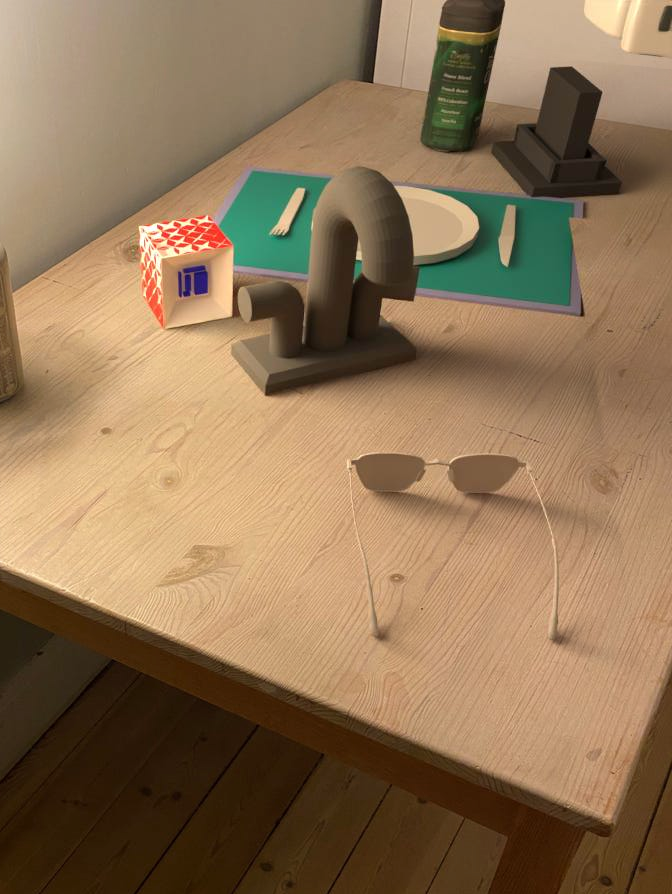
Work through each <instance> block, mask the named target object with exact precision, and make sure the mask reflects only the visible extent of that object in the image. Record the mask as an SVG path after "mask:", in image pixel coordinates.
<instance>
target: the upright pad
mask: <svg viewBox="0 0 672 894" xmlns="http://www.w3.org/2000/svg"><path fill="white" fill-rule="evenodd" d="M543 92H544V93H543V96H542V101H541V105H540V108H539V113H538V118H537V122H536V123H537V126H536V130H535V134H534V135H535V136H536V137H537V138H538V139H539V140H540V141H541V142H542V143H543V144H544V145H545V146H546V147H547V148H548V149H549V150H550V151H551V152H552V153H553V154H554V155H555V156H556V158H557V159H558V160H570V159H584V157H585V154H586V150H587V146H588V143H589V144H590V139H591V136H592V131H593V128H594V125H595V121H596V119H597V114H598V110H599V107H600V103H601V100H602V97H603V96H602V95H603V93H604V92H603V90H601V89H600V88H599V87H598V86H596V85H595V83H593V82H592V81H590V80H589V79H588V78H587V77H586V76H584V75H583V74H582V73H581V72H579V71H578V70H577V69H576V68H574V67H573V66H551V67H549V71H548V75H547V80H546V85H545V88H544V91H543Z"/></svg>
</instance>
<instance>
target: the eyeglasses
mask: <svg viewBox="0 0 672 894" xmlns="http://www.w3.org/2000/svg"><path fill="white" fill-rule="evenodd" d="M433 465H434V466H435V465H439V466H447V477H448V480H449V482H450V483H451V484H452V485H453V487H454V488H455V490H456V491H459V492H461V493H466V494H489V493H495V492H497V491H500V490H501V489H502V488H503V487H504V486H506V485H507V484H508V483H509V482H510V481H511V480H512V478H513V477H514V476H516V473H518V471H519V468H525V471H526V474H527V476H530V478H531V482H532V483H533V486H534V488H535V490H536V493H537V495H538V498H539V501H540V504H541V506H542V509H543V513H544V515H545V519H546V522H547V524H548V528H549V531H550V535H551V542H552V549H553V557H554V558H553V559H554V561H553V562H554V586H553V597H552V610H551V612H550V613H551V614H550V618H549V621H548V624H547V638H548V640H550V641H554V640H556V639H557V635H558V625H559V614H558V609H559V588H560V586H559V583H560V581H559V580H560V573H559V558H558V557H559V556H558V548H557V543H556V538H555V537H554V533H553V529H552V526H551V522H550V520H549V516H548V514H547V510H546V508H545V505H544V502H543V498H542V496H541V494H540V492H539V489H538V486H537V484H536V482H535V480H534V477H533V475H532V473H533V467H532V465H531V463H530V460H519V458H517V457H516V456H514V455H511V454H505V453H490V452H487V453H486V452H484V453H483V452H481V453H469V454H462V455H458V456H456V457H454V458H452V459H451V460H450V462H448V461H446V460H442V459H440V458H435V459H432V460H429V461H425V460H424V458H423V457H422V456H419V455H417V454H413V453H406V452H399V451H397V452H396V451H376V452H368V453H364V454H361V455H359V456H358V457H356V458H355V457H353V458H352V457H349V458H346V466H347V473H348V474H349V485H350V498H351V507H352V515H353V521H354V528H355V532H356V540H357V543H358V544H357V545H358V547H359V550H360V554H361V557H362V563H363V568H364V575H365V581H366V591H367V600H368V614H367V625H368V627H369V632H370V635H371V637H374V638H375V637H378V636H379V635H380V629H379V625H378V616H377V613H376V609H375V602H374V593H373V588H372V582H371V577H370V571H369V567H368V562H367V561H368V560H367V557H366V553H365V550H364V547H363V544H362V541H361V537H360V534H359V531H358V527H357V519H356V513H355V512H356V511H355V505H354V497H353V484H352V470H353V466H354V469H355V472H356V474H357V476H358V479H359V481H360V483H361V484H362V486H363V487H364V488H365V489H367V490H369V491H372V492H378V493H393V492H395V493H396V492H397V493H398V492H403V491H406V490H408V489H409V488H410V487H412V486H413V485H414V484H415V483H416V482H417V483H420V482H421V480H422V479H423V478H424V476H425V473H426V469H425V467H426V466H433Z"/></svg>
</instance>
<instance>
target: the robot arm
mask: <svg viewBox="0 0 672 894" xmlns="http://www.w3.org/2000/svg"><path fill="white" fill-rule="evenodd" d="M583 14H584V17H585V18H586V19H587V20H588V21H589V22H590V23H591V24H592V25H594V26H595V27H596V28H597V29H599V30H600V31H602V32H603V33H605V34H606V35H608V36H610V37H612V38H615V39H618V40H621V41H620V48H621V50H622V51H624V52H625V53H627V54H628V53H629V54H634V55H641V56H652V57H659V58H667V59H671V60H672V0H584V5H583Z"/></svg>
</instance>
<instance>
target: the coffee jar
mask: <svg viewBox="0 0 672 894" xmlns="http://www.w3.org/2000/svg"><path fill="white" fill-rule="evenodd" d="M505 7H506V0H446V1H444V3H443V4H442V7H441V11H440V16H439V23H438V30H437V31H438V32H437V36H436V43H435V50H434V56H433V63H432V67H431V68H432V69H431V73H430V80H429V86H428V92H427V98H426V103H425V108H424V114H423V120H422V125H421V131H420V137H419V138H420V142H421V144H422V145H423V146H427V147H429V148H431V149H433V150H434V151H439V152H443V153H449V152H452V151H453V152H454V151H457V152H458V151H459V152H464V151H467V150H469V149H470V148H471V147H472V146H473V145H474V144H475V142H476V141H477V139H478V137H479V134H480V131H481V125H482V121H483V115H484V110H485V104H486V100H487V94H488V90H489V85H490V81H491V76H492V70H493V67H494V62H495V56H496V52H497V47H498V42H499V38H500V33H501V28H502V22H503V18H504V11H505Z"/></svg>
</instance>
